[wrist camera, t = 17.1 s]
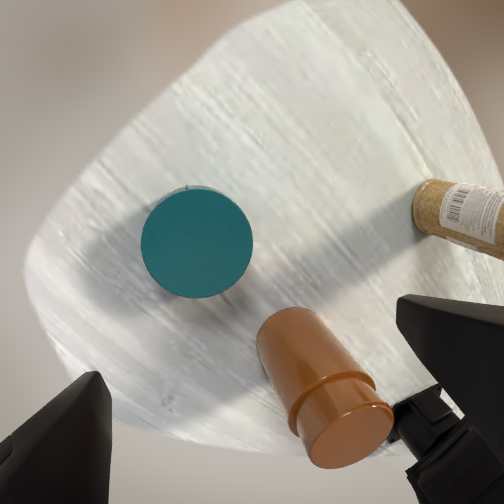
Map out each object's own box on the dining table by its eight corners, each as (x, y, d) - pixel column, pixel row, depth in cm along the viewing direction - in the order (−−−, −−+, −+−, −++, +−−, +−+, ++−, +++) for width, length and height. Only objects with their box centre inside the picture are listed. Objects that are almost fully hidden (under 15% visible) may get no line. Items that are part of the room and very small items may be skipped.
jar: (325, 357, 24) (393, 449, 14) (261, 375, 24) (306, 483, 14) (321, 299, 23) (405, 385, 13) (250, 317, 22) (299, 425, 12)
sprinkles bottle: (428, 244, 24) (563, 305, 11) (400, 206, 22) (555, 255, 10) (456, 204, 23) (589, 243, 11) (431, 165, 22) (581, 187, 9)
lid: (137, 194, 19) (129, 199, 16) (235, 176, 19) (243, 178, 17) (159, 289, 20) (155, 307, 18) (250, 270, 21) (260, 286, 18)
